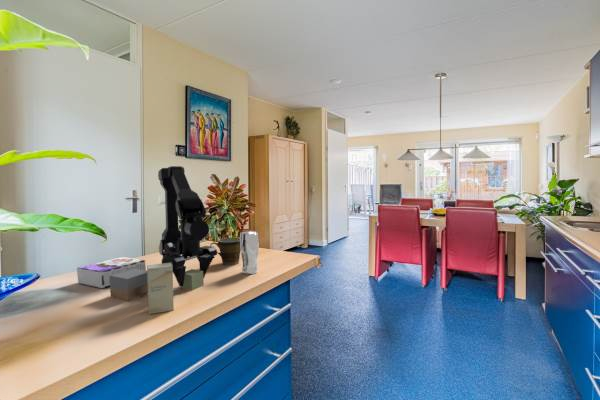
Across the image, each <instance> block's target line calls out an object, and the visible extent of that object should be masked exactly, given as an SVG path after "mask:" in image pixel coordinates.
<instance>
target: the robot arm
mask: <svg viewBox="0 0 600 400" xmlns="http://www.w3.org/2000/svg"><path fill="white" fill-rule="evenodd" d="M157 178H158V180H159V183H160V185H161V187H162V189H163V190H164V203H165V207H164V208H165V210H164V211H165V229H164V230H163V232H162V233H161V239H160V241H159V245H158V253H159V254H160V256H162V258H161V264H162V263H170V262H171V263H172V267H173V276H174V278H175V279H176V282H177V283H178V286H179V287H180V288H181V287H182V286H183V283H184V277H185V271H186V268H187V267H186V265H185V263H186V261H190V260H193V259H197V260H198V263H199V264H198V265H199V270H201V271H203V279H204V278H205V276H206V274H207V272H208V269H209V267H210V265H211V263H212V262H213V259H215V257H216V256H218V253H217V252H218V249H217V248H216V246H212V245H211V246H210V245H203V246H201V241H203V239H205V238H206V237H208V235H209V232H210V227H209V224H208V223H207V222H206V221H204V220H203V218H206V216H207V215H206V214H207V210H206V208H205V206H204V203H203V201H202V199H201V198H200V196H199V194H198V193H197V192H196V191H194V190H192V188H191V186H190V184H189V182H188V179H187V176H186V174H185V168H184V166H181V165H180V166H178V165H175V166H173V165H172V166H171V165H170V166H168V167H162V168H161V169H159V170H158V173H157ZM179 219H180V221H179ZM179 222H180V223H179ZM179 224H180V226H179ZM179 227H180V229H179Z"/></svg>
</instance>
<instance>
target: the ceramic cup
mask: <svg viewBox="0 0 600 400" xmlns="http://www.w3.org/2000/svg"><path fill="white" fill-rule="evenodd" d="M212 245H216V247H218V248H219V251H217V255H219V256H220V258H221V262H222V265H223V266H235V265H237V264H239V263H240V256H241V250H240V237H223V238H220V239H218V240H217V242H212V243H210V245H209V246H211V247H212Z"/></svg>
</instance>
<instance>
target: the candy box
mask: <svg viewBox="0 0 600 400" xmlns="http://www.w3.org/2000/svg"><path fill="white" fill-rule="evenodd" d="M131 269H139V270H146V271H147V267H146V260H145V259H140V258H133V257H127V256H119V257H116V258H111V259H107V260H103V261H99V262H95V263H91V264H86V265H83V266H77V267H76V273H77V282H78V283H77V284H80V285H84V286H89V287H95V288H99V289H104V288H107V287H110V275H114V274H117V273H121V272H124V271H127V270H131Z"/></svg>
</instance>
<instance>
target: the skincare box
mask: <svg viewBox="0 0 600 400" xmlns="http://www.w3.org/2000/svg"><path fill="white" fill-rule="evenodd" d="M146 271H147V282H148V294H147V303H148V305H147V306H148V308H147V309H148V314H149V315H153V314H158V313H165V312H170V311H174V307H175V305H174V273H173V267H172V263H171V262H170V263H162V262H161V263H154V264H147V265H146Z"/></svg>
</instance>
